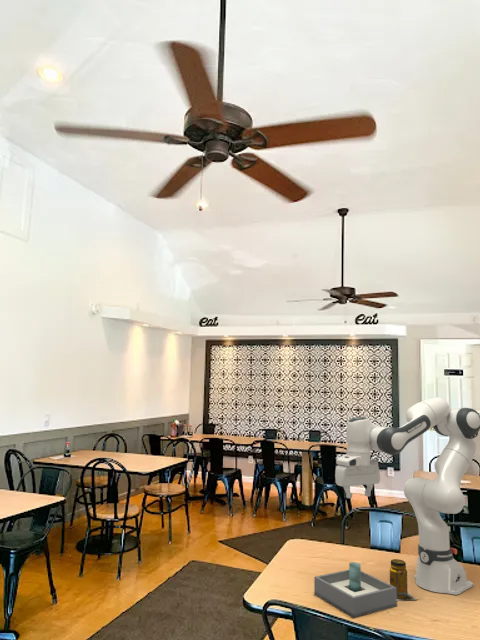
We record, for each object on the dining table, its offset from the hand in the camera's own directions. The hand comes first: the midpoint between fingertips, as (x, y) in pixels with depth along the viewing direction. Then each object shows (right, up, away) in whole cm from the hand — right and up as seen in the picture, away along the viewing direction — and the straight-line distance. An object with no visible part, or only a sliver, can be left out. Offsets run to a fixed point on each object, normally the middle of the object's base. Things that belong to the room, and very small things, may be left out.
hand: (358, 496), depth 179 cm
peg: (-4, -31, -11) cm, 33 cm away
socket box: (-5, -31, -14) cm, 35 cm away
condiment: (+13, -33, -10) cm, 37 cm away
